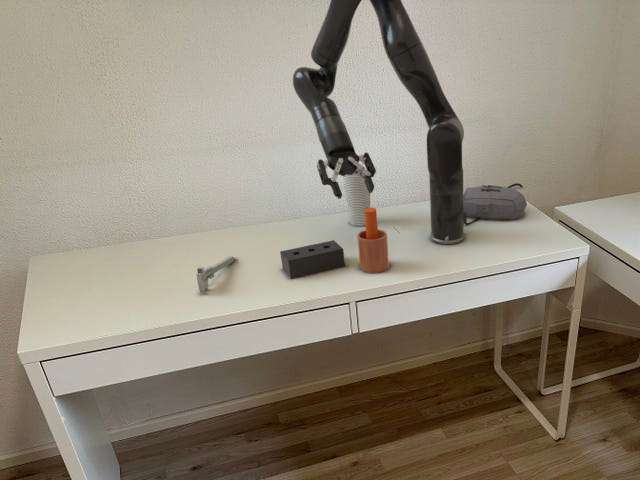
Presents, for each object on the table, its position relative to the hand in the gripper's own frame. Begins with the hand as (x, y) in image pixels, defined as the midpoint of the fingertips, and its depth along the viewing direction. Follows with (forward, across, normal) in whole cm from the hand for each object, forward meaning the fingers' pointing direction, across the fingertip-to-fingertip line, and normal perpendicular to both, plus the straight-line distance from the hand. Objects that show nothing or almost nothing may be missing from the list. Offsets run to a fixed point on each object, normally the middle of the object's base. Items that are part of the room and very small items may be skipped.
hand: (356, 194), depth 173 cm
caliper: (+7, -36, +17) cm, 41 cm away
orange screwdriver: (+18, 0, +6) cm, 18 cm away
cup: (-4, +9, +28) cm, 30 cm away
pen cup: (+18, 0, +6) cm, 19 cm away
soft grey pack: (+6, +48, +18) cm, 52 cm away
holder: (+13, -14, +11) cm, 22 cm away
